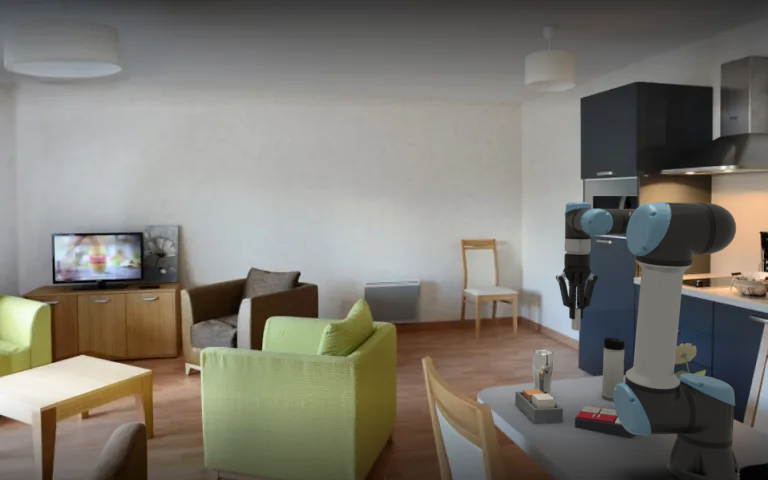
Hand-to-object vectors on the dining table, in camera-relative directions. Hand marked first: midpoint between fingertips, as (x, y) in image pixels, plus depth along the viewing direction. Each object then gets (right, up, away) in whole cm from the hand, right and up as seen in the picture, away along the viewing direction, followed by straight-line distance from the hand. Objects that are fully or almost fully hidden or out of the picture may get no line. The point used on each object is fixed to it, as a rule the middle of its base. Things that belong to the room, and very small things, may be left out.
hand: (575, 329), depth 185 cm
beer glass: (-7, -24, +13) cm, 28 cm away
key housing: (-12, -25, -2) cm, 28 cm away
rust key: (-12, -24, +2) cm, 27 cm away
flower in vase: (+28, -27, -15) cm, 41 cm away
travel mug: (+16, -24, +12) cm, 31 cm away
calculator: (+5, -27, -12) cm, 29 cm away
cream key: (-12, -23, -6) cm, 26 cm away
